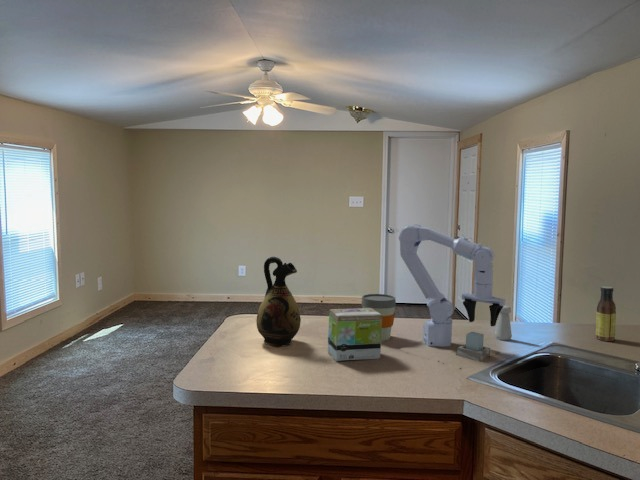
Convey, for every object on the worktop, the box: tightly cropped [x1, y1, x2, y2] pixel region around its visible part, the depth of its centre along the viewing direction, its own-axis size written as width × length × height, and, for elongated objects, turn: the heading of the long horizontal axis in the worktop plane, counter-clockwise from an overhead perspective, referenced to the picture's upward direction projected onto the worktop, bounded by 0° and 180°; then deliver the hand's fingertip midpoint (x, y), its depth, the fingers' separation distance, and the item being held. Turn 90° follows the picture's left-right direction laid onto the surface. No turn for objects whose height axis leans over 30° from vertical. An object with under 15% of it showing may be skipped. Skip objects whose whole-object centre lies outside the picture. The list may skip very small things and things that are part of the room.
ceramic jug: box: [255, 256, 302, 348], centre depth 168 cm, size 17×15×30 cm
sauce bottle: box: [595, 285, 617, 342], centre depth 180 cm, size 7×6×20 cm
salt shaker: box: [494, 305, 513, 342], centre depth 175 cm, size 6×6×13 cm
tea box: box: [327, 307, 382, 362], centre depth 156 cm, size 15×10×15 cm, turn 105°
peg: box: [465, 331, 485, 352], centre depth 156 cm, size 4×4×7 cm
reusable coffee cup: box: [361, 293, 397, 342], centre depth 177 cm, size 13×13×15 cm
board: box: [455, 343, 501, 362], centre depth 159 cm, size 14×9×4 cm, turn 135°
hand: (482, 323), depth 162 cm, fingers open, 7 cm apart
